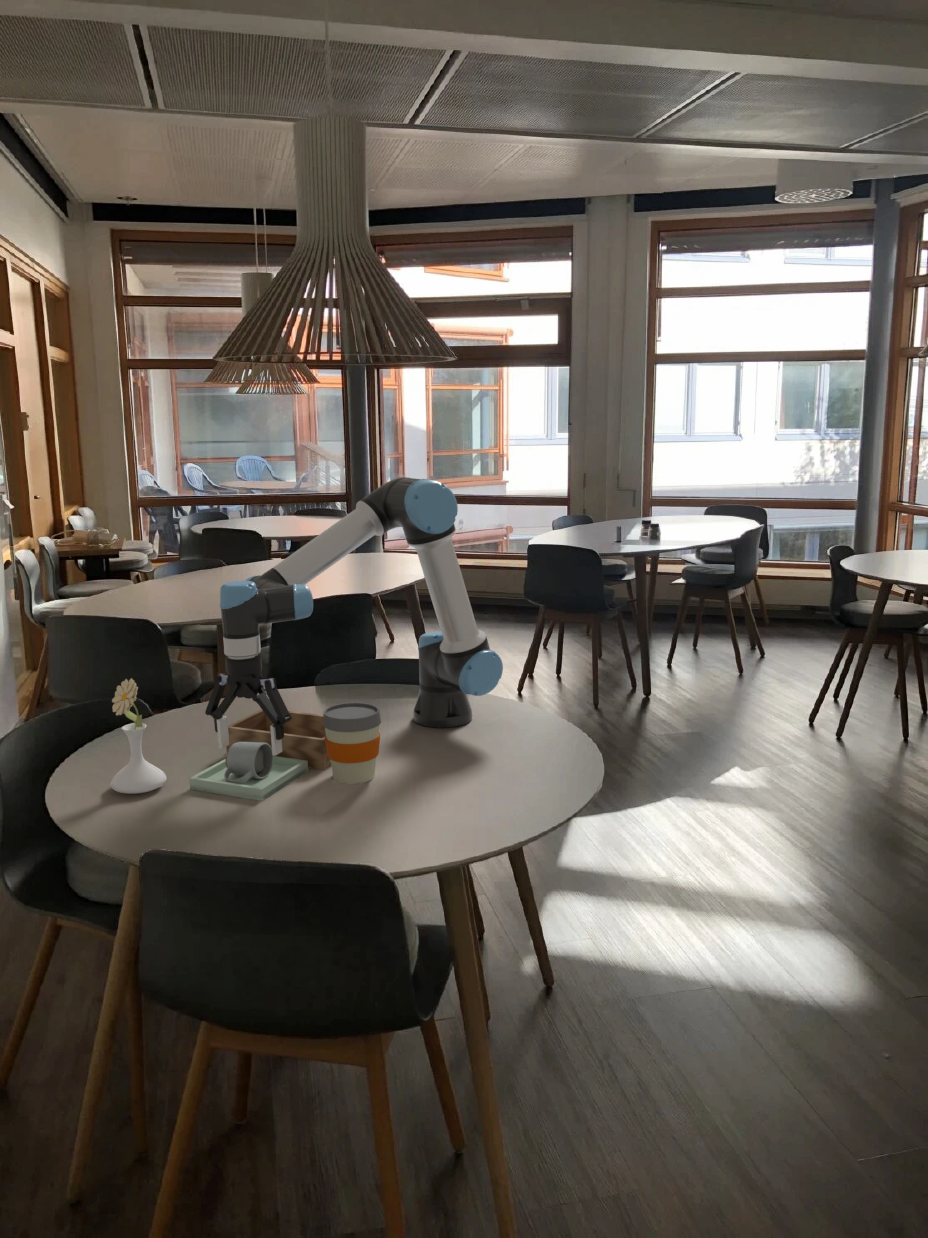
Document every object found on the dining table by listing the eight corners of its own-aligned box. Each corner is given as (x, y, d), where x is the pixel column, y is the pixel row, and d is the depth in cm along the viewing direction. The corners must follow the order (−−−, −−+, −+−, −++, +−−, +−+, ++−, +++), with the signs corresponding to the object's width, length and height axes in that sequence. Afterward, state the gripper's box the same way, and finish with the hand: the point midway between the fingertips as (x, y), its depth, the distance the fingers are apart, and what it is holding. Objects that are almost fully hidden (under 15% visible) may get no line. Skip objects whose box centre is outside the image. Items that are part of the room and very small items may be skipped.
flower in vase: (109, 783, 212) (98, 671, 206) (163, 775, 216) (155, 665, 211) (113, 805, 200) (102, 687, 195) (171, 796, 204) (162, 680, 199)
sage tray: (308, 771, 217) (307, 760, 217) (262, 801, 201) (261, 789, 200) (240, 761, 224) (239, 751, 223) (190, 789, 208) (189, 778, 207)
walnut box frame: (358, 747, 232) (357, 719, 231) (324, 770, 218) (323, 740, 216) (265, 735, 242) (264, 708, 241) (227, 756, 228) (225, 727, 226)
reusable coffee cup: (358, 762, 223) (356, 698, 220) (394, 776, 214) (392, 710, 211) (313, 776, 214) (310, 711, 211) (349, 791, 205) (346, 723, 202)
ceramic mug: (243, 767, 217) (241, 734, 216) (275, 771, 214) (273, 738, 213) (215, 785, 208) (212, 750, 206) (248, 789, 205) (245, 755, 203)
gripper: (303, 654, 205) (309, 750, 210) (205, 646, 215) (213, 738, 219) (283, 663, 199) (290, 762, 203) (183, 654, 208) (192, 749, 213)
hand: (250, 750), depth 211 cm, fingers open, 13 cm apart
